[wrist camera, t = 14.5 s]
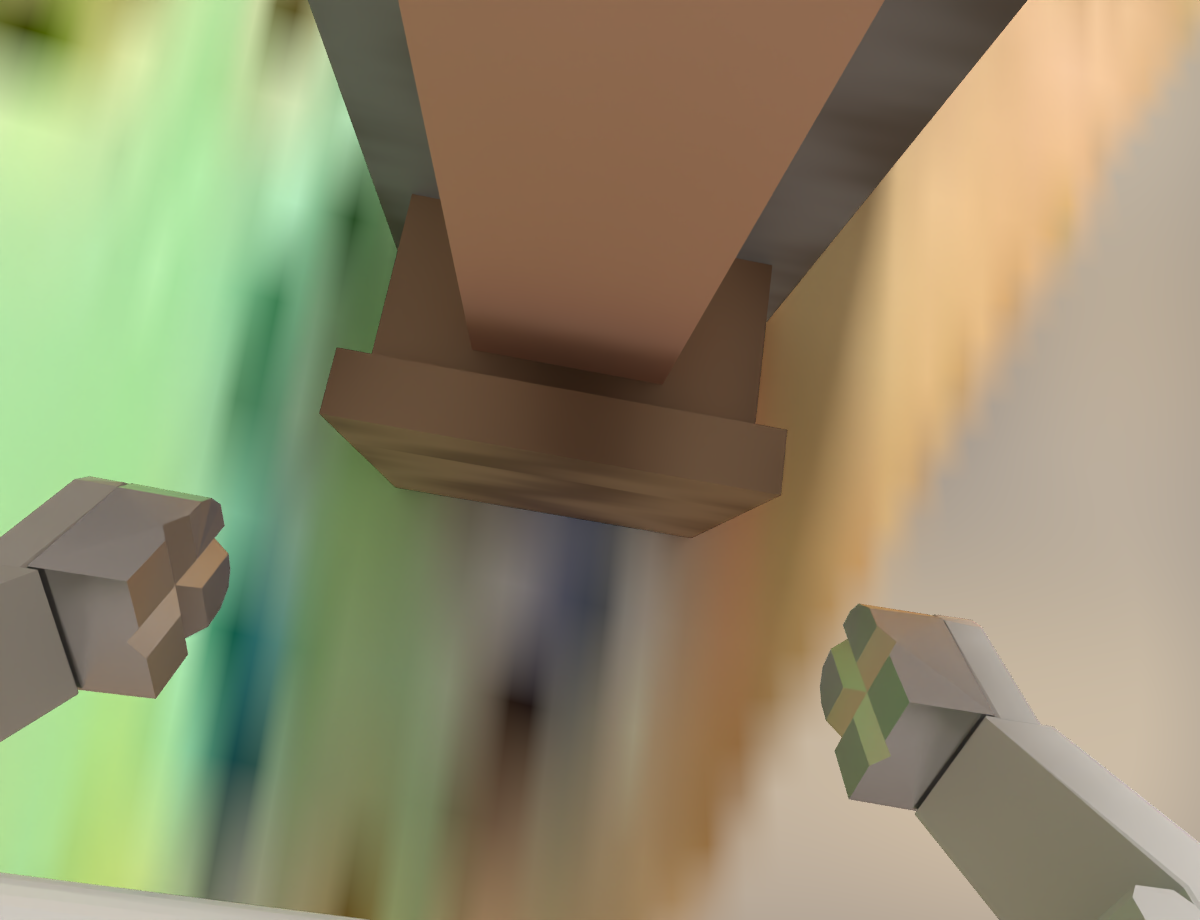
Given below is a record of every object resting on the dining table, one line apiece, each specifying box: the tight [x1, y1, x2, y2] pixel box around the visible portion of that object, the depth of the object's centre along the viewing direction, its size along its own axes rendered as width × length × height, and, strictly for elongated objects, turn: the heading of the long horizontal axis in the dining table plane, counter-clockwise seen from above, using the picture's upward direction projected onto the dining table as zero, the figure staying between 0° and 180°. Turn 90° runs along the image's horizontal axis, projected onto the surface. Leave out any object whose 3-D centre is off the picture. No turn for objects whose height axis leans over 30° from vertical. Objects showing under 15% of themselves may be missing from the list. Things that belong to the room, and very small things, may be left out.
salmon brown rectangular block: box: [398, 0, 885, 385], centre depth 12 cm, size 5×4×12 cm
